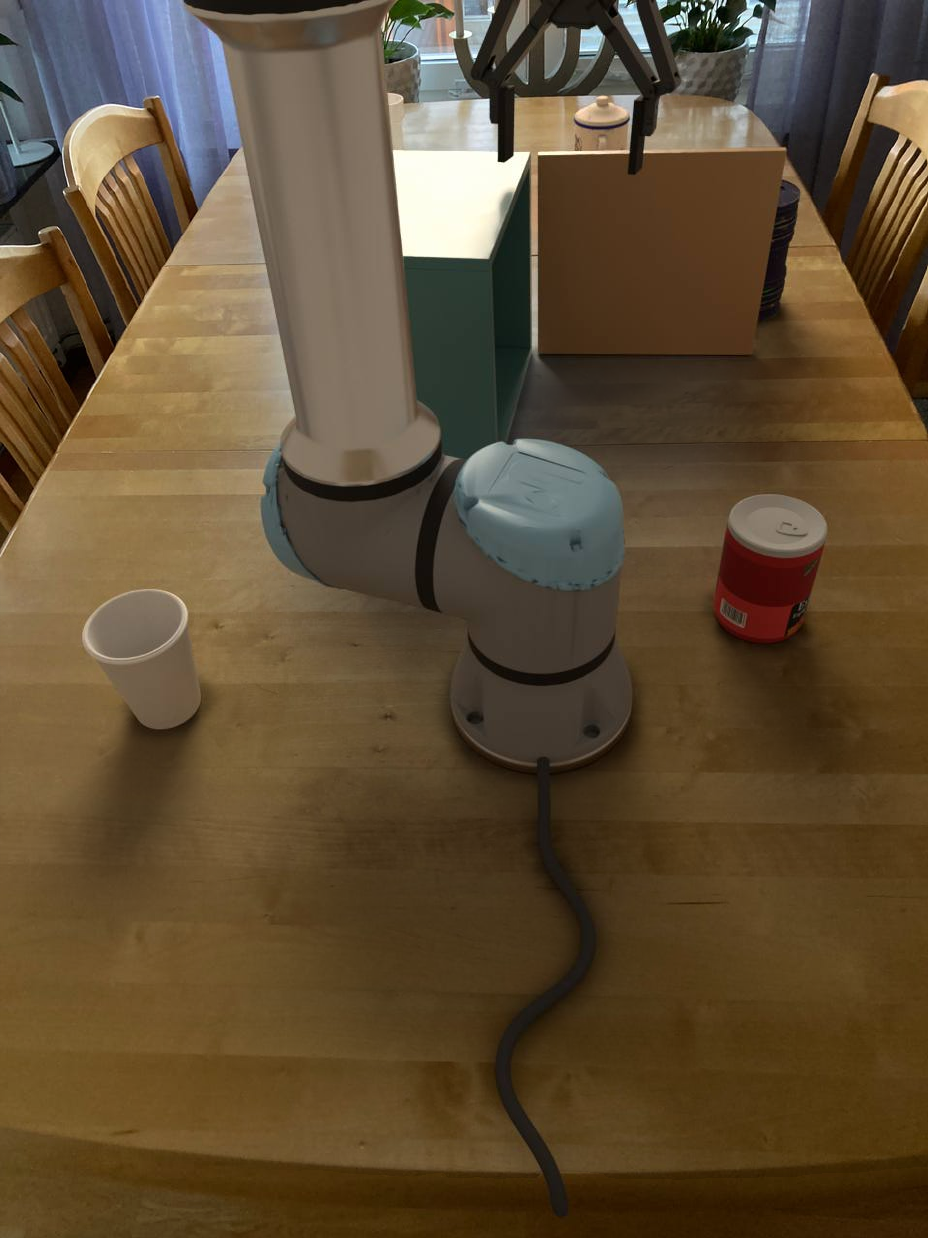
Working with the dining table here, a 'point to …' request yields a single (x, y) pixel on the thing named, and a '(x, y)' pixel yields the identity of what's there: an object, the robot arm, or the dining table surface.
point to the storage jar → (779, 250)
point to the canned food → (768, 567)
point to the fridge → (467, 288)
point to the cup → (396, 119)
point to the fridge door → (654, 249)
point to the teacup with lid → (601, 127)
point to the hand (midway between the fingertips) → (568, 165)
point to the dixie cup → (147, 655)
